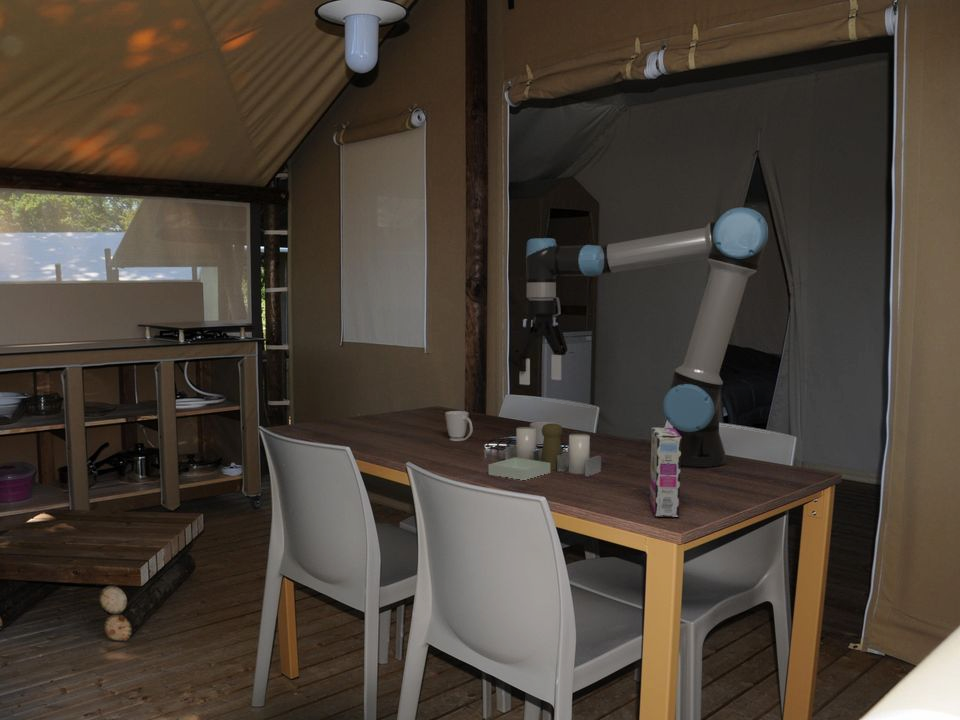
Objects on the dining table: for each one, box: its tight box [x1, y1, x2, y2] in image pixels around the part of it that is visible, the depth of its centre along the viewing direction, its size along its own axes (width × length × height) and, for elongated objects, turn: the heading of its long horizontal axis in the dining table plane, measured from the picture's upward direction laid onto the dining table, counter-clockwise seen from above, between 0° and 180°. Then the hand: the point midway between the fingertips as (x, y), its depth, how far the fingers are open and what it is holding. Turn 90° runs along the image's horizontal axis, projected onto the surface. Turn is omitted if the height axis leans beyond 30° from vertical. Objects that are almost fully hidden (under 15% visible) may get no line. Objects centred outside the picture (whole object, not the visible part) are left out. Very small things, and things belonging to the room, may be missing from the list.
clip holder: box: [504, 444, 602, 477], centre depth 213 cm, size 25×6×4 cm, turn 51°
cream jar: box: [568, 433, 591, 475], centre depth 208 cm, size 5×5×9 cm
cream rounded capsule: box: [515, 426, 537, 460], centre depth 218 cm, size 5×5×9 cm
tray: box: [488, 457, 551, 481], centre depth 206 cm, size 11×11×2 cm
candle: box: [529, 421, 563, 444], centre depth 241 cm, size 9×9×6 cm
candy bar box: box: [649, 427, 682, 518], centre depth 172 cm, size 11×5×16 cm, turn 175°
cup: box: [444, 410, 474, 442], centre depth 250 cm, size 7×10×8 cm
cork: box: [541, 424, 564, 471], centre depth 213 cm, size 6×6×11 cm
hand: (540, 382), depth 219 cm, fingers open, 13 cm apart
